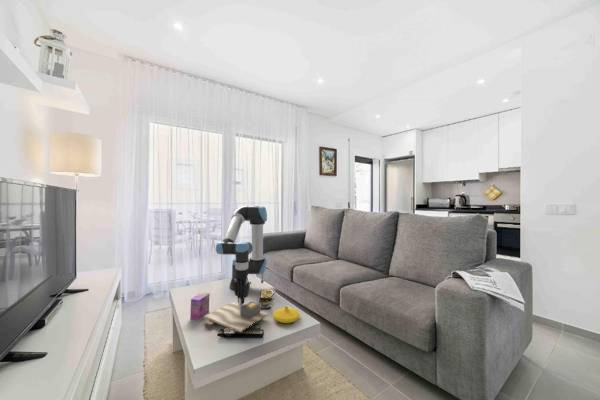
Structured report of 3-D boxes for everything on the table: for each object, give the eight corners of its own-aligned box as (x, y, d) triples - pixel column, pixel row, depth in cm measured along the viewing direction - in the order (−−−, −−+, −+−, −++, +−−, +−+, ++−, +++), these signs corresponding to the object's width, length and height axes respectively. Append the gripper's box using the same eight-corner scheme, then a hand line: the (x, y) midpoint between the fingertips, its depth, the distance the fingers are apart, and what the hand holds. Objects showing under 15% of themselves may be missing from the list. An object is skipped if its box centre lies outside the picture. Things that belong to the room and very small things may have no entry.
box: (199, 320, 138) (199, 299, 138) (190, 319, 140) (190, 298, 140) (209, 312, 149) (209, 293, 149) (200, 311, 150) (201, 292, 150)
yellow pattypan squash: (297, 312, 151) (297, 301, 151) (302, 325, 136) (302, 312, 136) (271, 314, 149) (272, 302, 149) (273, 327, 133) (273, 314, 133)
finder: (250, 309, 146) (250, 300, 146) (260, 312, 142) (260, 303, 143) (240, 315, 138) (240, 306, 138) (250, 318, 135) (250, 309, 135)
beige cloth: (232, 307, 156) (232, 302, 156) (267, 319, 142) (267, 313, 142) (198, 324, 134) (198, 318, 134) (236, 340, 120) (236, 333, 120)
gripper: (229, 268, 144) (228, 308, 144) (245, 272, 138) (244, 313, 138) (238, 265, 151) (237, 303, 151) (254, 268, 144) (253, 308, 144)
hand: (240, 308), depth 144 cm, fingers closed
